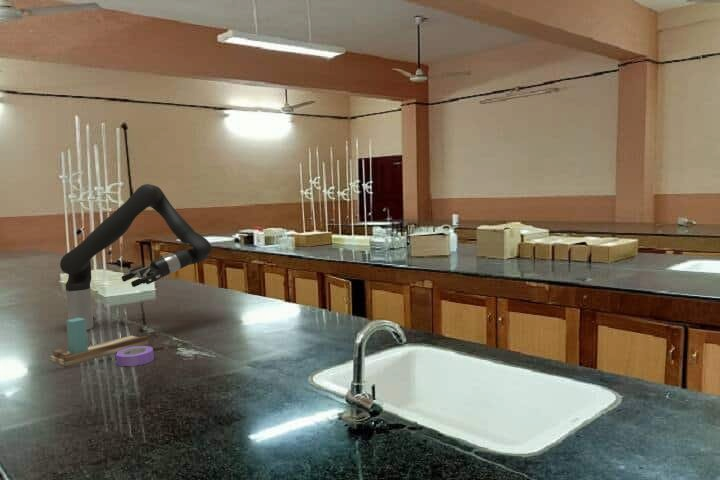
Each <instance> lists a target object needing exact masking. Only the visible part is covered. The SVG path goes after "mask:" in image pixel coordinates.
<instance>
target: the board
mask: <svg viewBox="0 0 720 480" xmlns="http://www.w3.org/2000/svg"><path fill="white" fill-rule="evenodd" d="M145 344H146V345H149V336H148V335H143V336H140V337H139V336H134V335H128V336H123V337H120V338H115V339H112V340H108V341H104V342H100V343H96V344H93V345H92V344H91V345H89V346H88V351H84V352H81V353H77V354H73V355H71V353H69V350H68V351H65V350H63V349H59V348H58V349H55V350H52V355H49V357H50V358H49V359H50V362H51V361H52V362H54V363H57V364H60V365H62V366H65V367H69V366H72V365H76V364H80V363H85V362H87V361H92V360H95V359H98V358H101V357H102V358H103V357H105V356H109V354H110V355H113V354H116V352H118V351H120V350H122V349H125V348H129V347H135V346H146V345H145Z"/></svg>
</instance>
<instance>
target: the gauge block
mask: <svg viewBox="0 0 720 480" xmlns="http://www.w3.org/2000/svg"><path fill="white" fill-rule="evenodd" d="M65 322H66V324H65V325H66V334H67V336H66V337H67V345H68V346H67V347H68V351H69V353H71V355H73V354H77V353H81V352H84V351H88V345H89V343H88V334H87V333H88V332H87V330H86V320H85V319H83V318H75V319H70V320H68V319H67V320H66V321H65Z"/></svg>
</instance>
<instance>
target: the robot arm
mask: <svg viewBox="0 0 720 480" xmlns="http://www.w3.org/2000/svg"><path fill="white" fill-rule="evenodd" d="M148 208H152V209H153V211H155V212H156V213H158V214H159V215H160V216H161V218H163V221H165V223H166V225H167V226H168V228H169V229H170V230H171V232H172V233H173V235H175V237H176V238H178V239H179V241H180V242H181V243H182V244H184V245H189V246H191V247H192V248H190V249H188V250H187V249H180V250H177V251H175V252H173V253H170V254H166V255H164V256H160V257H158V258H156V259H154V260H152V261H151V262H150V265H149V266H146V265H144V264H142V265H140V266H137V267H134V268H132V269H130V270H129V273H127V274H124V275H122V276H121V280H122V282H127V281H129V280H131V279H135V280H132V281H131V283H130V284H131V287H132V288H136V287H137V286H139V285H142V284H143V285H145V284H146V285H149V284H152V283H154V282H156V281H158V280H160V279H162V278H164V277H166V276H169V275H171V274H173V273H176V272H177V271H179V270H181V269H183V268H186V267H188V266H189V265H191V266H192V265H194V264H198V263H201V262H203V261H205V260H206V259H207V258H208V257H209V255H210V253H211V252H212V250H213V249H212V245H211V243H210V241H208V239H207V238H206V237H204V236H203V235H201V234H200V233H198V232H197V231H195V229H194V228H193V227H191V225H190V224H189V223H188V222H187V221H186V219H184V218H183V217H182V215H180V214H179V213H178V212H177V210H176V209H175V208H174V206H173V205H172V204H171V201H169V199H168V198H167V196H166V195H165V193H164V192H163V190H162V189H161V188H160V187H159V186H158V185H155V184H152V183H151V184H149V183H147V184H146V183H145V184H142V185H140V186H139V187H138V188H137V189H136V190H135V191H134V192H133V193H132V194H131V196H130V197H129V198H128V199H127V200H126V201H124V203H123V204H122V205H120V206H119V207H118V208H117V209H116V210H115V211H114V212H113V213H110V215H109V216H107V217H106V219H104V220H103V221H102V222H101V223H100V224H98V226H97V227H96V228H95V229H94V230H92V232H91V233H90V234H89V235H87V237H86V238H85V239H84V240H83V241H82V242H81V243H79V244H78V245H77V246H75V247H74V248H73V249H71V250H70V251H68V252H67V253H65V254H64V255H63V256H62V257H61V260H60V261H59V262H60V263H59V265H60V269H61V271H62V272H63V273H65V274H67V275H68V278H67V281H66V283H65V294H66V295H65V297H66V309H67V318H68V319H67V320H70V319H75V318H83V319H85V320H86V331H88V330H92V329H93V328H94V317H93V316H94V315H93V307H92V306H93V305H92V304H93V303H92V292H91V282H92V264H91V263H92V262H91V259H92V258H94V257H95V256H96V255H97V254H98V253H100V252H102V251H104V250H105V249H107V248H108V247H110V246H111V245H113V244H114V243H115V242H117V241H118V239H120V238H121V237H122V236H124V235H125V233H126V232H127V231H128V230H129V228H130V227H131V226H132V223H133V222H134V221H135V219H136V218H137V217H138V216H139V215H140V214H141V213H142V212H144V211H145V210H146V209H148ZM136 278H137V279H136Z"/></svg>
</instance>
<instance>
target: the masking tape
mask: <svg viewBox="0 0 720 480" xmlns="http://www.w3.org/2000/svg"><path fill="white" fill-rule="evenodd" d="M115 354H116V355H115V358H116V365H117V364H118V365H119V367H122V366H133V367H138V366H137V365H139V366H143V364H144V365H147V364H149V363H151V362H153V361H154V360H155V354H154V348H153V347H152V346H149V345H142V346H135V347H129V348H125V349H122V350H120V351H118V352H117V353H115ZM118 365H117V366H118Z"/></svg>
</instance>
